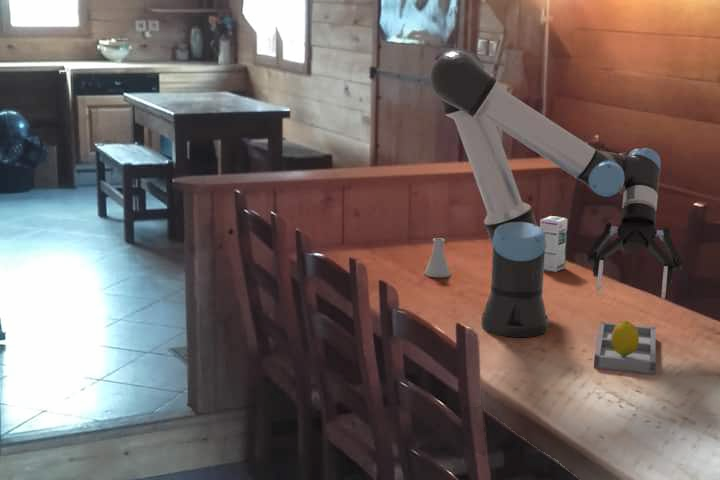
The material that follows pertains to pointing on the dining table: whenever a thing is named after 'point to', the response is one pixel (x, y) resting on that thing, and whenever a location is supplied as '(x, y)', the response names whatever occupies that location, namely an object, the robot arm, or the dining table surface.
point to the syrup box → (554, 242)
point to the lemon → (625, 338)
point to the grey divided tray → (635, 362)
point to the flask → (437, 261)
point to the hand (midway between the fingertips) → (630, 292)
